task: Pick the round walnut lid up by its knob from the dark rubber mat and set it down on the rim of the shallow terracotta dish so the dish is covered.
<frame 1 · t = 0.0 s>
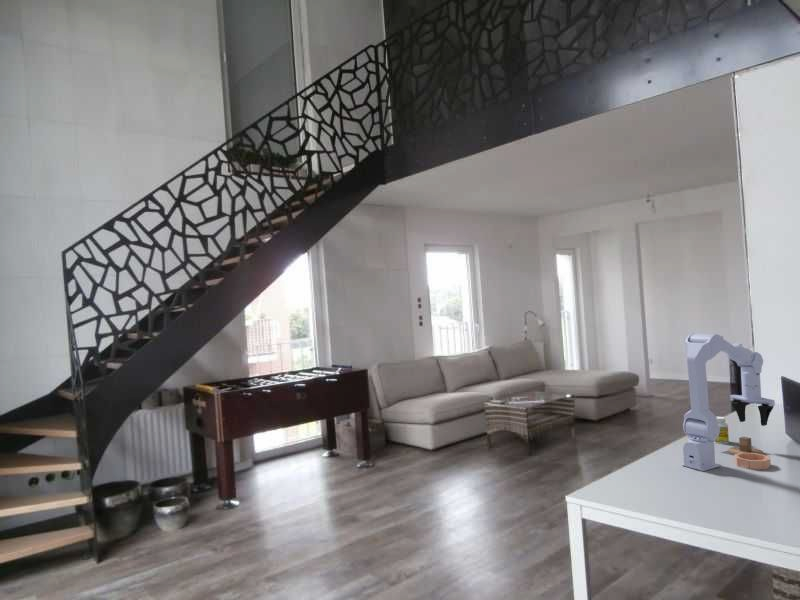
hand: (753, 423, 199), 10 cm above the table, fingers open, 7 cm apart
mat: (745, 454, 197), on the table
bowl: (752, 465, 184), on the table
supplement bottle: (720, 443, 213), on the table
lid: (745, 453, 197), resting on mat
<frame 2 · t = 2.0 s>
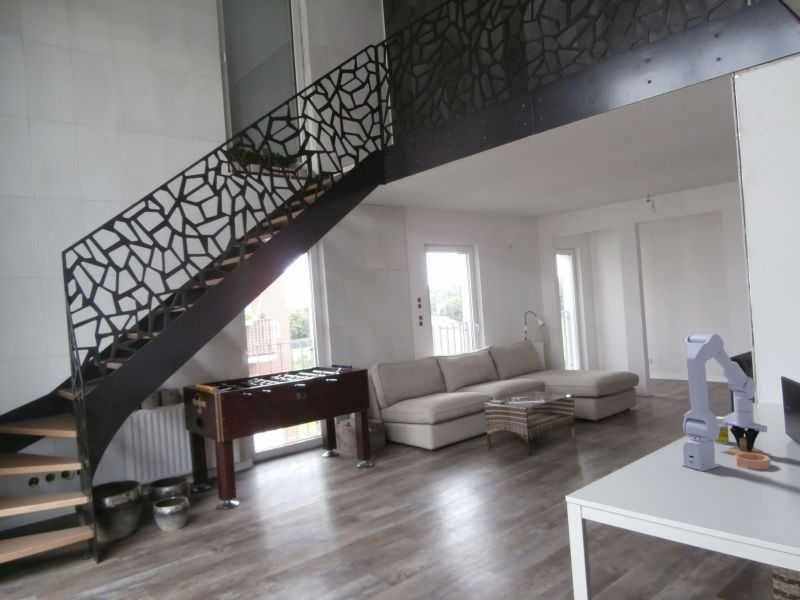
hand: (745, 448, 197), 2 cm above the table, fingers closed on lid, 3 cm apart
lid: (745, 453, 197), resting on mat, touching gripper
everything else where it was.
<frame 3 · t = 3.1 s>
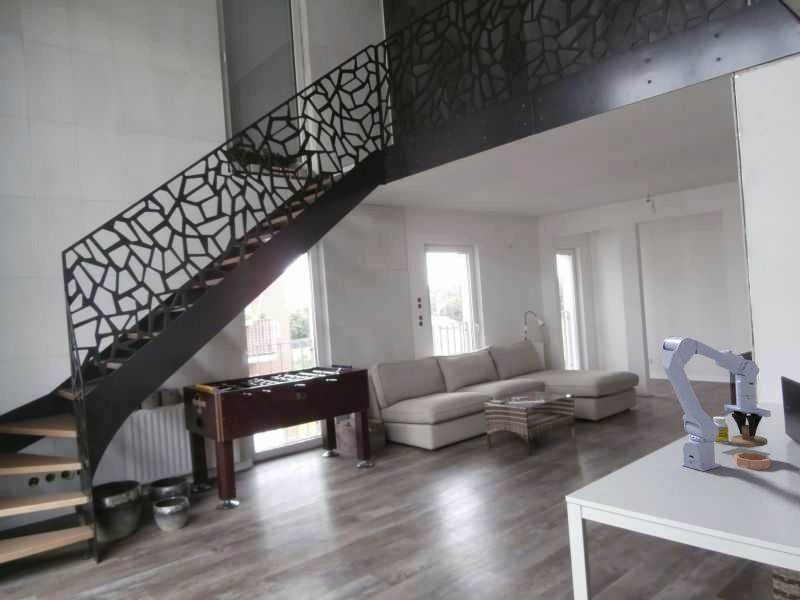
hand: (747, 434, 189), 9 cm above the table, fingers closed on lid, 3 cm apart
lid: (748, 441, 189), point 6 cm above the table, touching gripper
everything else where it was.
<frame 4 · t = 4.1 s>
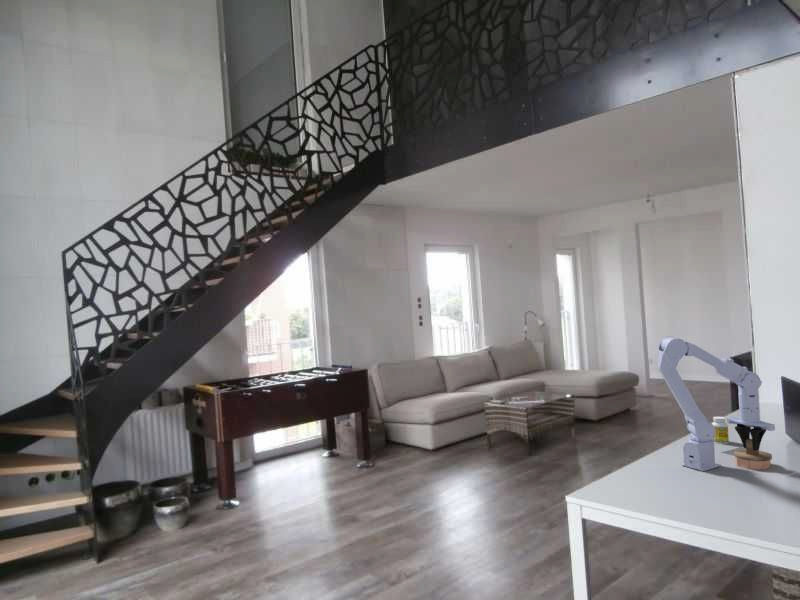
hand: (751, 448, 184), 6 cm above the table, fingers closed on lid, 2 cm apart
lid: (752, 456, 184), point 3 cm above the table, touching bowl, gripper
everything else where it was.
when the fingers open (6 cm above the table, at t = 4.3 s): lid stays where it is, resting on bowl.
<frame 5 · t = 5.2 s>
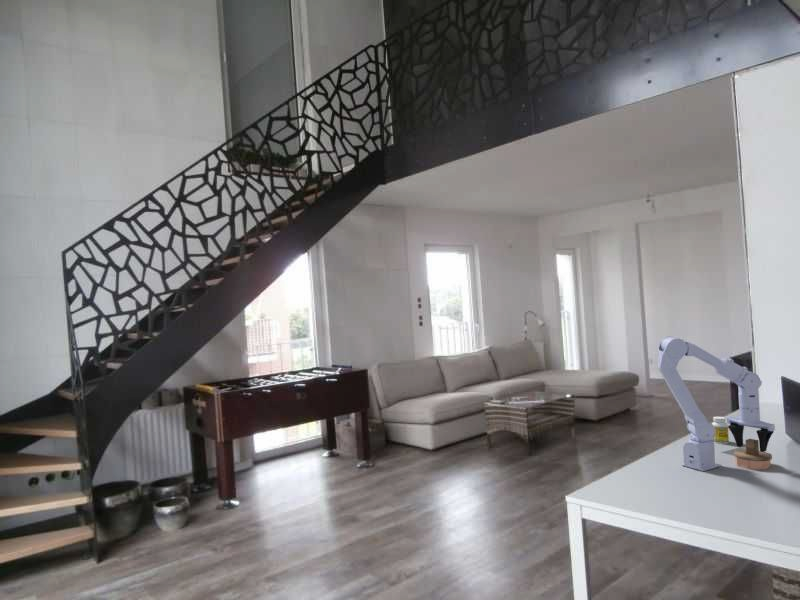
hand: (751, 448, 184), 6 cm above the table, fingers open, 7 cm apart
lid: (752, 456, 184), point 3 cm above the table, touching bowl
everything else where it was.
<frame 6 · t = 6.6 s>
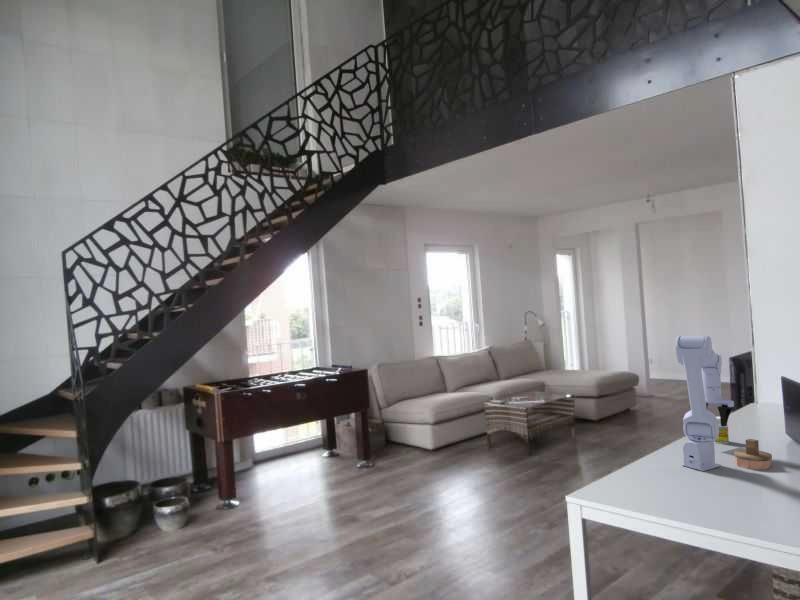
hand: (713, 424, 202), 10 cm above the table, fingers open, 7 cm apart
nothing on the table moved.
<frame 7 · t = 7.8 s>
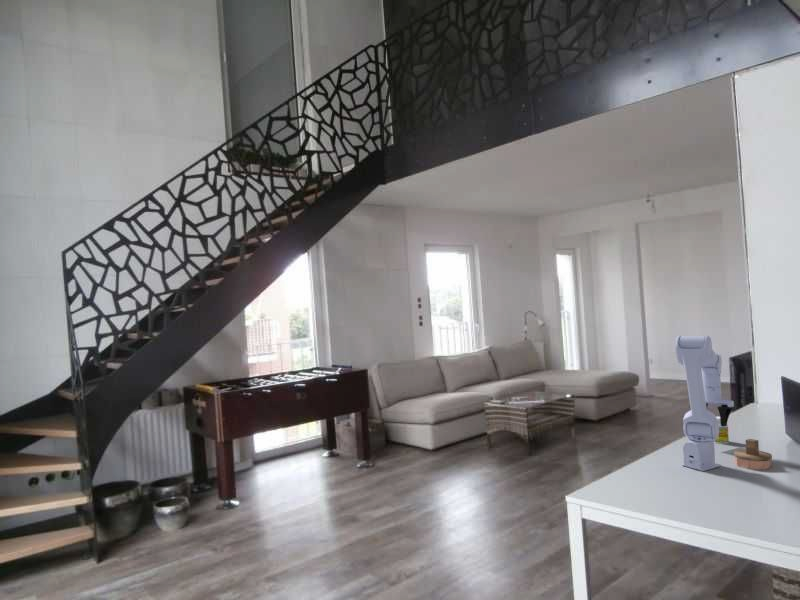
hand: (713, 424, 202), 10 cm above the table, fingers open, 7 cm apart
nothing on the table moved.
at the end: lid 0.5 cm off-centre on the bowl, point 3.0 cm above the bowl's base; lid tilted 0°; the gripper is holding nothing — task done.
